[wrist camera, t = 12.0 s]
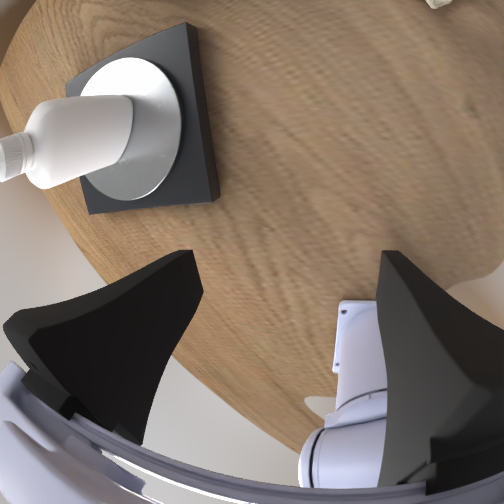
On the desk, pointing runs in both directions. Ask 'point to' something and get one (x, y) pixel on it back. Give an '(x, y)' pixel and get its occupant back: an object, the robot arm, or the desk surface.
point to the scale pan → (141, 127)
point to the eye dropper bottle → (68, 139)
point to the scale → (195, 132)
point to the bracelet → (437, 3)
